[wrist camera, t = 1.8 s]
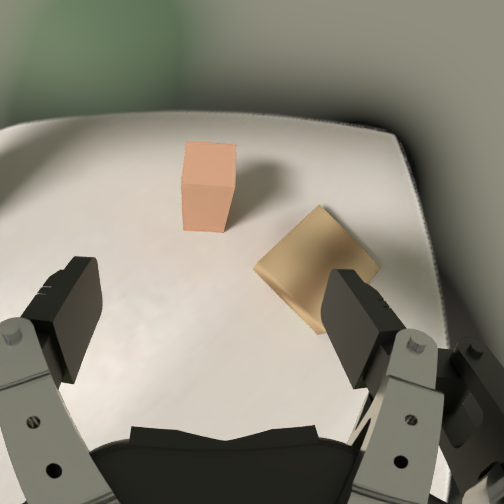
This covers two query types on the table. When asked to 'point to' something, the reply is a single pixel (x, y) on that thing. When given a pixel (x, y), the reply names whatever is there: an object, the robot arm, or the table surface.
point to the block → (207, 185)
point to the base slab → (312, 264)
